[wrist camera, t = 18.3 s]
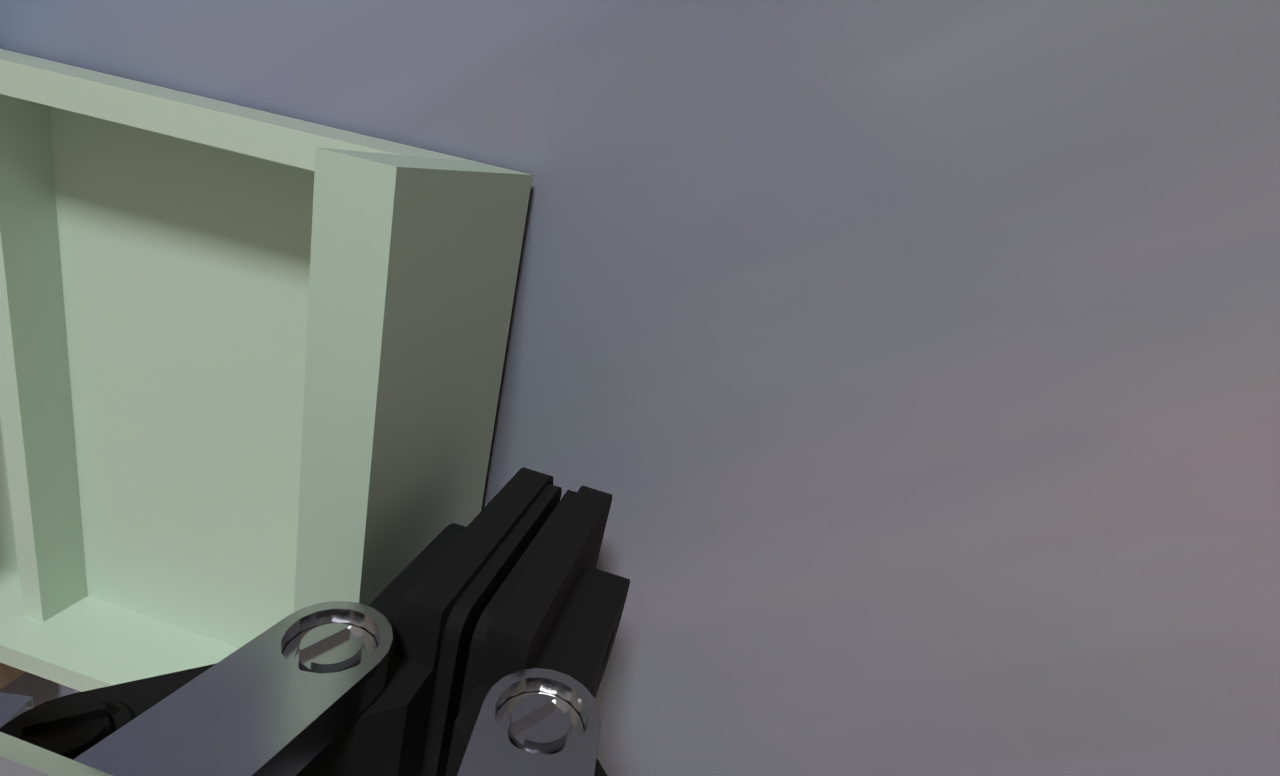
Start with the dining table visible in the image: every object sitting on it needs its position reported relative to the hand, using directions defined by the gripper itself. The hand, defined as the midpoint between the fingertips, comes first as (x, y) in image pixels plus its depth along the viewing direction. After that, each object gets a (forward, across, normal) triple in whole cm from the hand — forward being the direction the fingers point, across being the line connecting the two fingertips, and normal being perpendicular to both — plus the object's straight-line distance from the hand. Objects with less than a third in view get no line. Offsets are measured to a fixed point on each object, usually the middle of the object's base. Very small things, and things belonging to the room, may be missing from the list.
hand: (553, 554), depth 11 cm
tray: (+2, +14, 0) cm, 14 cm away
